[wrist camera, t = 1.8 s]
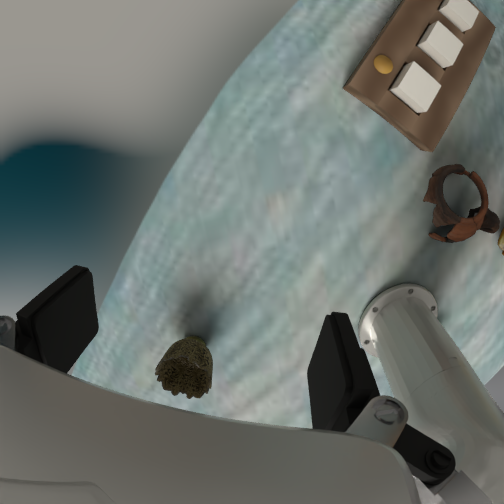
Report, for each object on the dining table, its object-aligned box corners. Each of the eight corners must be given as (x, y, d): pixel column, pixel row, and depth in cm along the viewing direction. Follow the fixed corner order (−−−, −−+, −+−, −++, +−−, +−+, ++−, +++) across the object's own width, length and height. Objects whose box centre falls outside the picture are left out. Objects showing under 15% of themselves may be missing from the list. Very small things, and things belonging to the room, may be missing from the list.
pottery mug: (407, 238, 35) (427, 223, 27) (414, 172, 36) (432, 145, 28) (480, 258, 32) (511, 249, 24) (484, 195, 33) (512, 175, 25)
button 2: (430, 88, 25) (441, 85, 23) (416, 113, 27) (426, 111, 24) (404, 65, 25) (413, 61, 22) (389, 90, 26) (397, 87, 24)
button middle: (453, 48, 23) (463, 44, 20) (441, 68, 24) (452, 65, 22) (428, 26, 22) (437, 20, 20) (416, 46, 24) (425, 40, 21)
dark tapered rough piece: (224, 330, 41) (214, 368, 34) (216, 366, 44) (207, 404, 36) (172, 317, 41) (155, 352, 34) (170, 354, 44) (154, 390, 36)
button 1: (469, 16, 20) (479, 11, 18) (461, 32, 22) (471, 28, 19) (446, -5, 20) (455, -11, 17) (437, 11, 21) (446, 5, 19)
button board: (484, 31, 22) (496, 27, 19) (421, 150, 30) (433, 152, 27) (420, -26, 21) (429, -34, 18) (342, 88, 29) (349, 83, 26)
